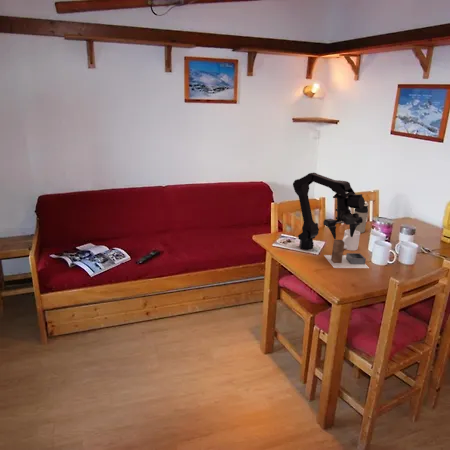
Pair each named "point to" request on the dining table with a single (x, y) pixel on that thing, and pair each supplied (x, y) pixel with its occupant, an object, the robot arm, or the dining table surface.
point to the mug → (351, 240)
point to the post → (337, 251)
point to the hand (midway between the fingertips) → (343, 237)
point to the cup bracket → (355, 258)
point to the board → (344, 263)
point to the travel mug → (363, 214)
